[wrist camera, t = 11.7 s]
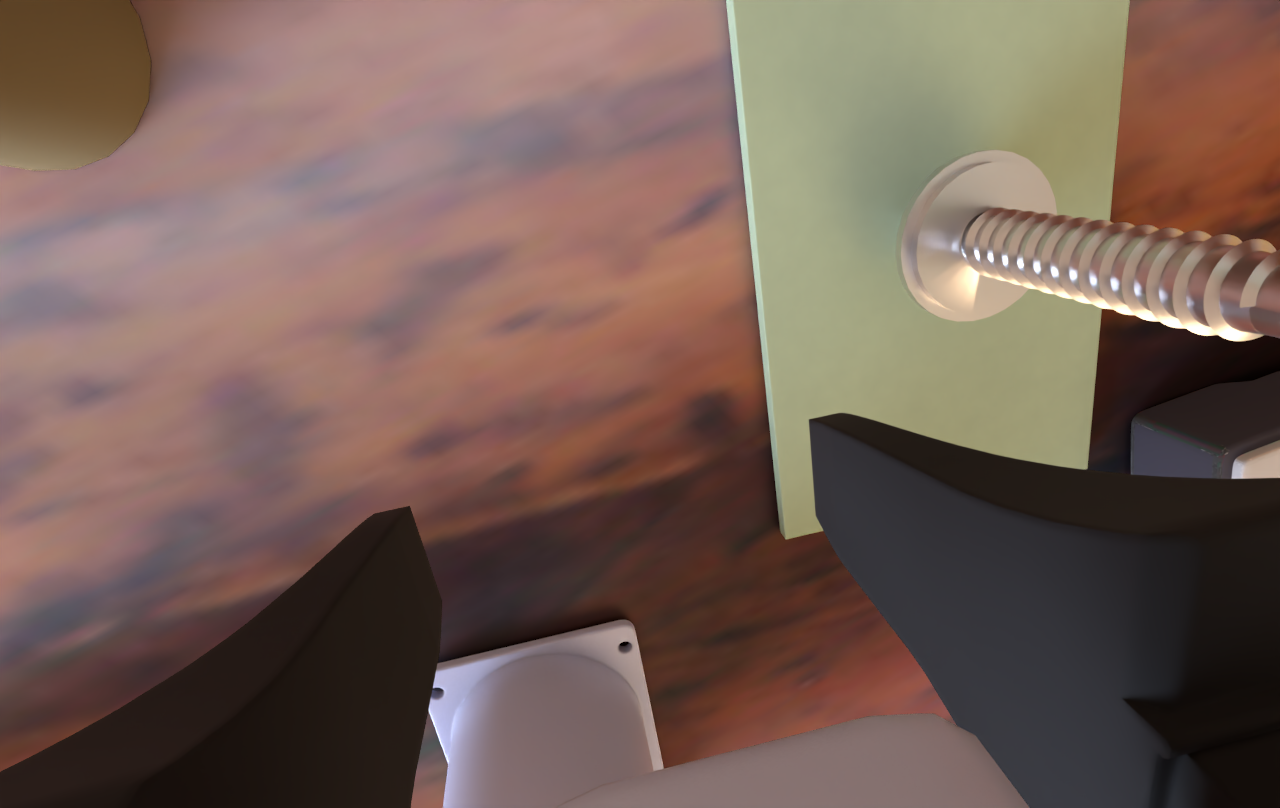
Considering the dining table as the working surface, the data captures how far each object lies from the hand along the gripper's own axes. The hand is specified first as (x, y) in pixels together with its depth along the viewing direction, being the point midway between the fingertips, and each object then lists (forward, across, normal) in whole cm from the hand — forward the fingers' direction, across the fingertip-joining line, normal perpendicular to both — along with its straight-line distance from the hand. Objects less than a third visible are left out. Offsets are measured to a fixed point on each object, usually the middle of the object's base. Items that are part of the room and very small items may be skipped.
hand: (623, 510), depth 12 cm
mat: (+10, -12, -2) cm, 16 cm away
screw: (+10, -12, -2) cm, 16 cm away
